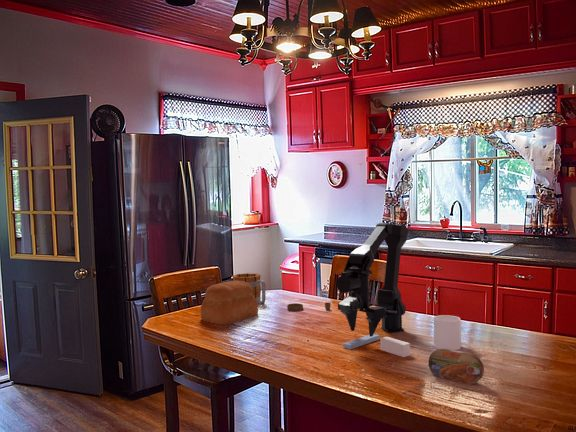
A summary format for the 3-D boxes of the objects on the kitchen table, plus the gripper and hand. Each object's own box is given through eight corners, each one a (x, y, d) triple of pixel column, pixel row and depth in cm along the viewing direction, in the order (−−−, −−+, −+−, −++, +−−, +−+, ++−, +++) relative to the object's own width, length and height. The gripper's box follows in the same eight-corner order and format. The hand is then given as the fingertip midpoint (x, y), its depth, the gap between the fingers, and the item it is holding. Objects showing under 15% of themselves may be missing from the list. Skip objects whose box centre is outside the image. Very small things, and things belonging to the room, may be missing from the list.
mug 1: (227, 307, 247) (226, 275, 246) (248, 302, 256) (247, 272, 256) (254, 312, 233) (253, 279, 232) (276, 307, 242) (275, 276, 242)
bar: (372, 341, 184) (372, 333, 184) (379, 343, 182) (379, 335, 181) (343, 352, 173) (343, 343, 173) (350, 354, 171) (350, 345, 171)
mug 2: (471, 347, 173) (470, 316, 173) (452, 355, 165) (452, 322, 165) (447, 342, 179) (447, 312, 179) (428, 350, 171) (428, 318, 171)
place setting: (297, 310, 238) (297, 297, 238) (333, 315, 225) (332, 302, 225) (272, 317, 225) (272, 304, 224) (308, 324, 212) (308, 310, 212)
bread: (262, 319, 221) (261, 280, 220) (226, 330, 204) (224, 288, 203) (233, 314, 232) (232, 277, 231) (196, 324, 215) (195, 284, 214)
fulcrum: (369, 355, 167) (369, 340, 167) (395, 348, 174) (395, 333, 174) (394, 364, 158) (394, 348, 158) (421, 356, 165) (420, 341, 165)
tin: (428, 376, 147) (427, 347, 147) (432, 373, 150) (432, 344, 149) (481, 388, 138) (481, 357, 137) (485, 384, 140) (485, 354, 140)
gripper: (325, 287, 179) (326, 332, 180) (362, 295, 164) (363, 344, 165) (349, 283, 186) (350, 326, 187) (387, 291, 171) (388, 337, 171)
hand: (361, 333), depth 177 cm, fingers open, 9 cm apart
